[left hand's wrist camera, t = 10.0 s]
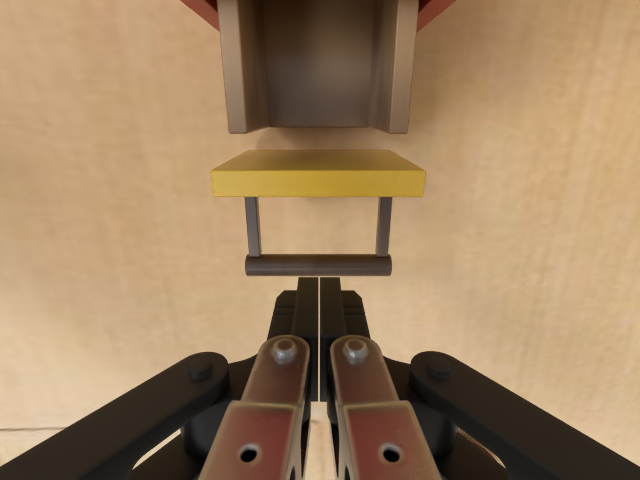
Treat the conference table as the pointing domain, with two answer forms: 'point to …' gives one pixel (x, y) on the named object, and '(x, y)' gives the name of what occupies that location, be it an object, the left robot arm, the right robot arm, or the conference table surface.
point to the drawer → (318, 113)
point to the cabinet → (429, 7)
